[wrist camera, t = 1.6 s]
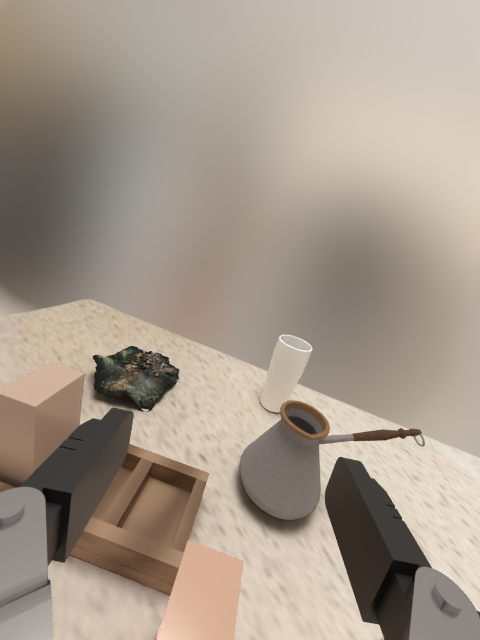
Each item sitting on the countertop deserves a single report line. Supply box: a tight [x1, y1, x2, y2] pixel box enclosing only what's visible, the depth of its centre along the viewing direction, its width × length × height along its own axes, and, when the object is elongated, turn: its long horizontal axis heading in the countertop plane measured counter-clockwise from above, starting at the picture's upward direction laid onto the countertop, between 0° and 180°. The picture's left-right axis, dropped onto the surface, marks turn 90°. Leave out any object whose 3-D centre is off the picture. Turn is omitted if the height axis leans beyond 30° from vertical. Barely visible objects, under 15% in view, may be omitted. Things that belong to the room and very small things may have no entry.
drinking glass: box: [260, 335, 312, 413], centre depth 54 cm, size 7×7×15 cm
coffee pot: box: [239, 401, 425, 520], centre depth 36 cm, size 21×12×15 cm, turn 89°
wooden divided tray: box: [0, 444, 209, 595], centre depth 29 cm, size 22×10×4 cm, turn 81°
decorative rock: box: [93, 346, 179, 411], centre depth 52 cm, size 19×6×15 cm
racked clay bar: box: [0, 362, 85, 488], centre depth 28 cm, size 4×6×12 cm, turn 171°
